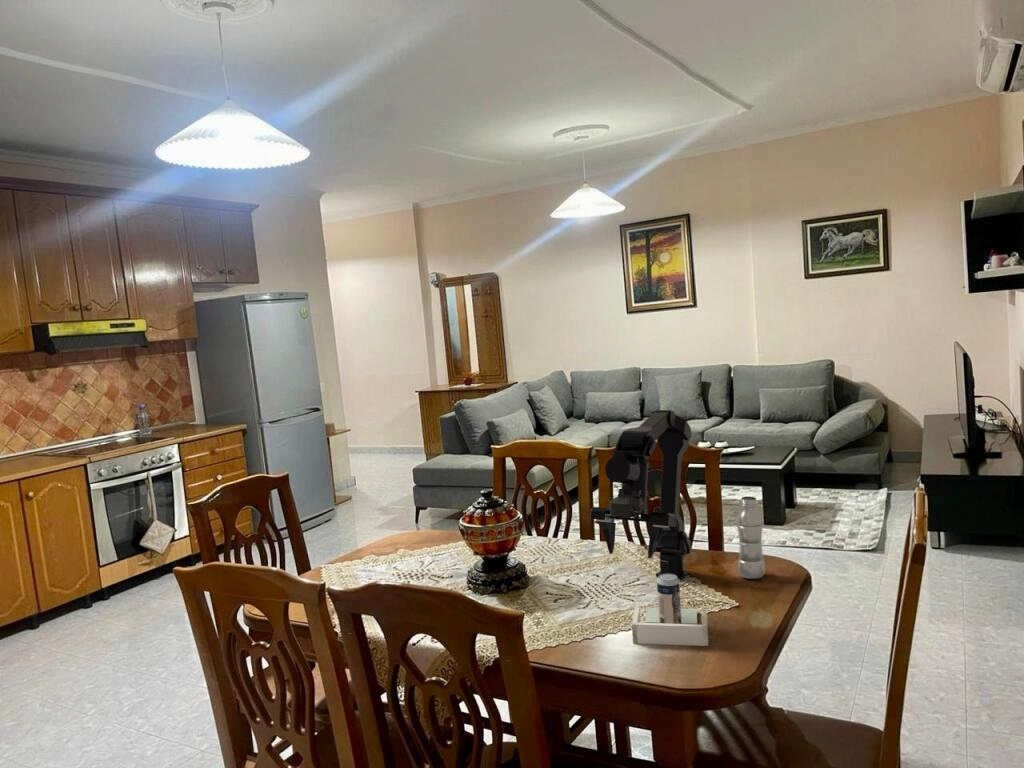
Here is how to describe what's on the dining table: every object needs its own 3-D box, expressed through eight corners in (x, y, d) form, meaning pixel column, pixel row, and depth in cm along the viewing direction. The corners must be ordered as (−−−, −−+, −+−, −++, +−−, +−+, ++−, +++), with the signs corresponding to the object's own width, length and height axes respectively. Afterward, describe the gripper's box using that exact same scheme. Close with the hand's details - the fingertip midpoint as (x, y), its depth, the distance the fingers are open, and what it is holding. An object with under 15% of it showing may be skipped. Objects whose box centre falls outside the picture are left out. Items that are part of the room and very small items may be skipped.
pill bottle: (682, 637, 152) (679, 581, 151) (659, 636, 153) (656, 580, 152) (682, 627, 157) (679, 572, 156) (659, 626, 158) (656, 572, 157)
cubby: (635, 624, 160) (634, 606, 159) (707, 626, 156) (706, 608, 156) (632, 643, 151) (631, 624, 151) (708, 645, 147) (707, 626, 147)
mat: (646, 610, 167) (646, 607, 167) (696, 611, 164) (696, 609, 164) (645, 624, 159) (645, 621, 159) (697, 626, 157) (697, 623, 157)
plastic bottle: (738, 581, 180) (735, 501, 178) (738, 571, 186) (735, 494, 185) (766, 582, 178) (763, 502, 176) (765, 572, 185) (762, 495, 183)
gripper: (581, 480, 164) (576, 551, 162) (661, 485, 154) (657, 561, 152) (602, 484, 173) (597, 551, 171) (678, 489, 164) (675, 560, 161)
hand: (630, 556), depth 163 cm, fingers open, 9 cm apart
